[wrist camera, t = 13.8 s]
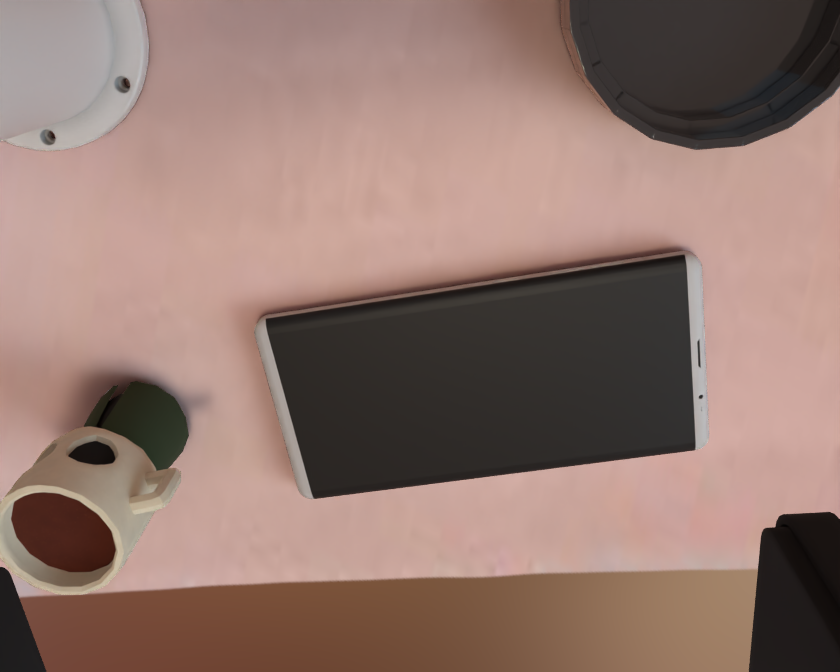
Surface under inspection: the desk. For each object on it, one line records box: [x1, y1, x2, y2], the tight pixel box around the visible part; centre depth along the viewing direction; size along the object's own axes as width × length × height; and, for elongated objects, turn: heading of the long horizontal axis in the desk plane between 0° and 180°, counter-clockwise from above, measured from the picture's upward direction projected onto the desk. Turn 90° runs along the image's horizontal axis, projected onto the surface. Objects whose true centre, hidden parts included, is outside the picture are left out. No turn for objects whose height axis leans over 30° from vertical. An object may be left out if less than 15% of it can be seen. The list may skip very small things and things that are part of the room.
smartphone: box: [254, 251, 709, 499], centre depth 50 cm, size 13×27×2 cm, turn 100°
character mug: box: [0, 381, 189, 595], centre depth 47 cm, size 11×7×13 cm, turn 104°
